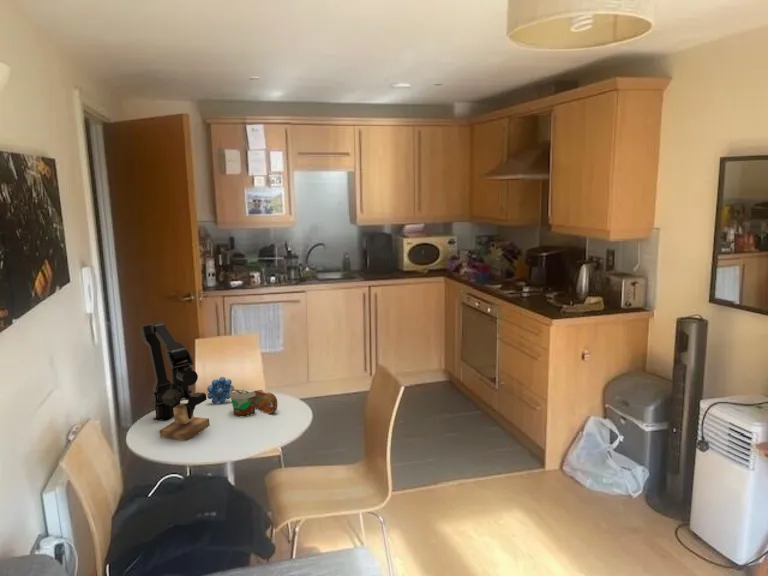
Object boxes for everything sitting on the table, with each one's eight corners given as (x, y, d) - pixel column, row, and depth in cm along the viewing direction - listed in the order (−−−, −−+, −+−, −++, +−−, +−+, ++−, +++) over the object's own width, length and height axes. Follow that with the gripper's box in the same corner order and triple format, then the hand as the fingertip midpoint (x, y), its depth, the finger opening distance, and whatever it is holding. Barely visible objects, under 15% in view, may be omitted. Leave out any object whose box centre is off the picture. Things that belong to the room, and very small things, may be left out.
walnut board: (160, 437, 219) (159, 430, 219) (184, 422, 232) (183, 415, 232) (187, 440, 215) (186, 433, 215) (209, 425, 228) (209, 418, 228)
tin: (251, 408, 245) (250, 389, 244) (257, 405, 248) (256, 387, 246) (273, 416, 235) (271, 396, 234) (279, 413, 237) (278, 394, 236)
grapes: (236, 398, 257) (234, 372, 255) (234, 404, 250) (232, 377, 248) (209, 401, 256) (207, 375, 253) (207, 406, 249) (204, 380, 247)
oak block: (174, 422, 221) (173, 407, 220) (183, 417, 226) (181, 403, 225) (185, 423, 220) (184, 408, 219) (193, 418, 224) (192, 404, 223)
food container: (224, 415, 239) (222, 392, 237) (234, 409, 244) (232, 387, 242) (247, 419, 233) (245, 395, 231) (257, 413, 238) (255, 390, 236)
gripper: (145, 384, 216) (149, 424, 218) (186, 388, 210) (191, 428, 212) (165, 375, 226) (169, 413, 229) (205, 378, 220) (209, 417, 223)
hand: (184, 418), depth 223 cm, fingers closed on oak block, 5 cm apart
